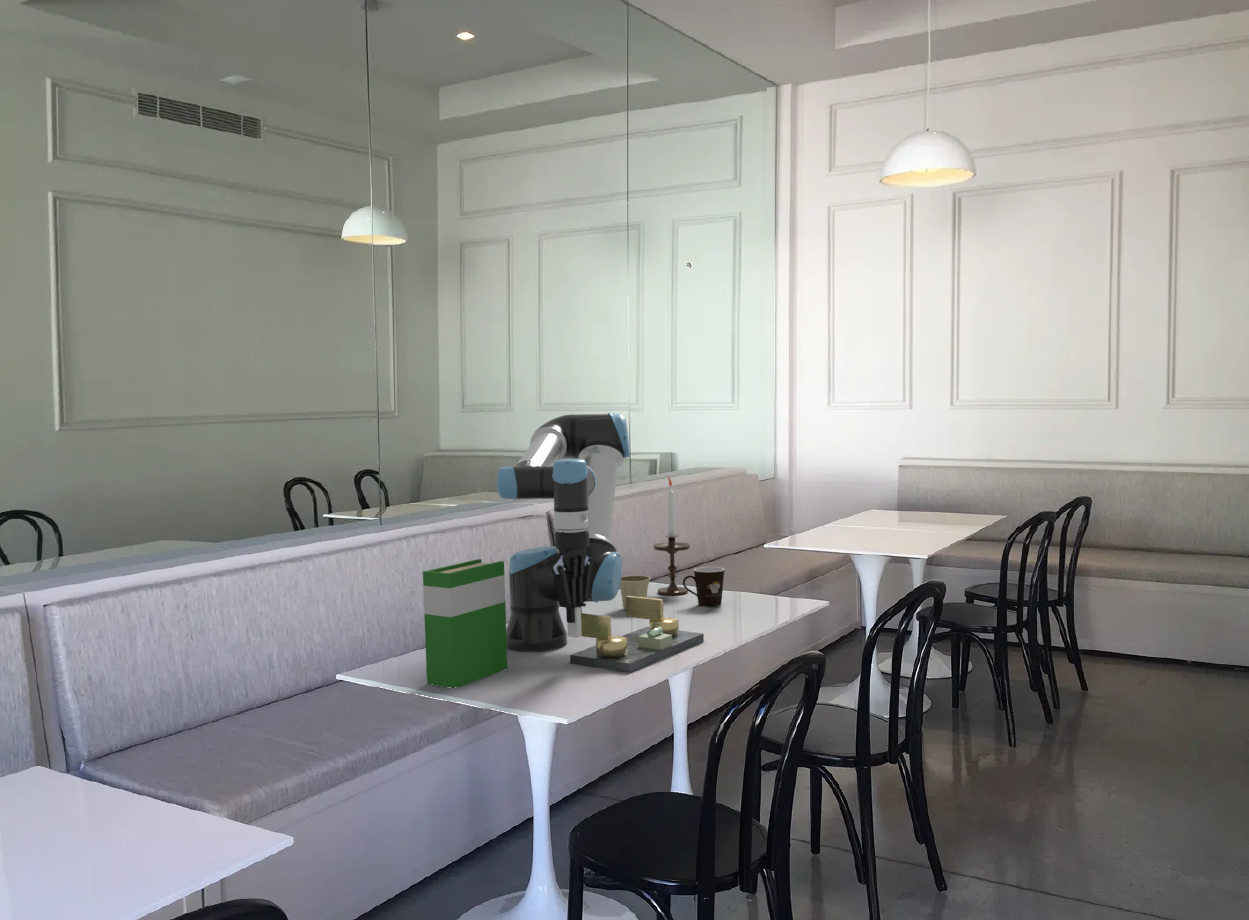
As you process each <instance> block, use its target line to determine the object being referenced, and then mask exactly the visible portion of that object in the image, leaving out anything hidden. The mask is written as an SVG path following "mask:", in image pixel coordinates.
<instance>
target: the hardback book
mask: <svg viewBox="0 0 1249 920" xmlns="http://www.w3.org/2000/svg"><path fill="white" fill-rule="evenodd" d="M505 576H506V575H505V561H503V560H499V561H495V562H491V563H487V562H482V558H481V559H480V558H476V559H473V560H468V561H464V562H463V561H462V562H460V563H454V564H450V565H446V566H441V567H436V568H431V569H428V570H423V571H422V584H423V585H422V586H423V611H424V612H423V613H424V615H423V616H424V637H425V638H424V640H425V642H424V643H425V644H424V645H425V665H426V667H425V668H426V684H427V683H428V684H433V685H432V686H434V685H438V686H437V687H440V686H443V687H442V688H445V687H451V688H455V687H457V688H460V687H463V686H466V685H468V684H470V683H472V682H473V681H474V682H476V681H479V680H482V679H484V678H487V677H489V676H492V675H495V674H498V673H501V672H504V671H506V670H508V648H507V637H506V629H507V616H506V615H507V613H506V612H507V610H506V607H507V606H506V584H505V583H506V581H505ZM428 684H427V685H428ZM451 688H450V689H451ZM455 689H456V688H455Z"/></svg>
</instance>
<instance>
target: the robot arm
mask: <svg viewBox="0 0 1249 920" xmlns="http://www.w3.org/2000/svg"><path fill="white" fill-rule="evenodd" d="M630 454H631V449H630V439H629V431H628V425H627V419H626V417H625V416H624V415H623V414H622V413H611V412H608V413H595V414H589V413H588V414H586V413H585V414H584V413H583V414H581V413H580V414H573V413H572V414H564V415H561V416H557V417H554V418H552V419H551V420H548V421H547V422H545V423H544V424H542V425H540V426H539V427H538V428H537V429H536V430H535V431H534V432H533V434H532V435H531V438H530V442H529V446H528V448H527V449H526V451H525V452H524V454H523V455H522V457H521V458H520V459H519V461H518V462H517V463H516V465H515V466H513V465H509V466H502V467H500V468H499V470H498V471H497V477H496V488H497V492H498V495H499V497H500V498H501V499H503V500H514V501H517V500H541V499H542V500H545V499H548V500H549V499H550V500H552V499H553V525H554V527H553V528H554V529H555V530H556V531H555V532H554V545H553V546H551V545H550V546H549V545H547V546H545V545H544V546H538V547H532V548H527V549H523V550H519V551H517V552H514V553H513V554H512V555H511V556H510V557H509V563H508V564H509V566H508V567H509V569H508V577H509V579H508V580H509V600H510V603H509V604H510V605H509V606H510V613H509V614H510V615H509V619H508V621H507V624H506V637H507V650H508V649H509V650H510V651H511V650H513V651H520V652H542V651H550V650H555V649H559V648H562V647H564V646H566V645H567V644H568V637H570V638H581V637H583V636H582V630H581V620H582V613H583V611H582V610H583V609H582V607H586V606H587V602H590V603H591V602H594V603H599V602H611V601H613V600H614V599H615V598H616V596H617V595H618V593H619V591H620V581H621V577H622V570H623V558H622V555H621V553H620V552H617V548H616V546H615V545H614V544H613V543H612V534H613V520H614V509H615V508H614V507H615V495H616V481H617V480H616V479H617V470H618V469H620V468H621V467H622V465H623V464H624V459H627V458H629V457H630V456H631V455H630ZM560 607H562V608H565V611H566V612H565V614H566V625H567V631H566V628H565V627H566V626H564V625H565V624H564V622H563V619H562V617H561V614H560Z"/></svg>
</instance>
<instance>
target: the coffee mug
mask: <svg viewBox="0 0 1249 920" xmlns="http://www.w3.org/2000/svg"><path fill="white" fill-rule="evenodd" d="M693 574H694V575H687V576H685V577H684V578H683V579H682V585H683V588H686V589H687V590H688V593H691V594H692V595H694V596H696V598H697V603H698V606H699V607H704V608H716V607H720V606H722V600H723V589H724V580H725V579H724V577H725V568H723V567H719V566H717V567H716V566H702V567H696V568H694V569H693ZM689 578H692V579H693V581H694V582H695V589H696V590H695V591H696V592H694V591H692V590H691V589H689V588H688V587H687V585H686V581H687V580H688V579H689Z"/></svg>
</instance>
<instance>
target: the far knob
mask: <svg viewBox="0 0 1249 920" xmlns="http://www.w3.org/2000/svg"><path fill="white" fill-rule="evenodd" d="M625 617H626V618H632V619H633V618H634V619H643V620H649V623H648V624H649V626H648V627H650V630H652V629H655V628H658V627H662V628H663V633H662V634H669V635H672V636H673V635H677V634H678V633H679V631H680V629H679V622H680V621H679V619H678V618H675V617H667V616H665V617H664V599H662V598H656V597H655V598H654V597H647V598H645V597H636V596H626V610H625Z"/></svg>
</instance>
